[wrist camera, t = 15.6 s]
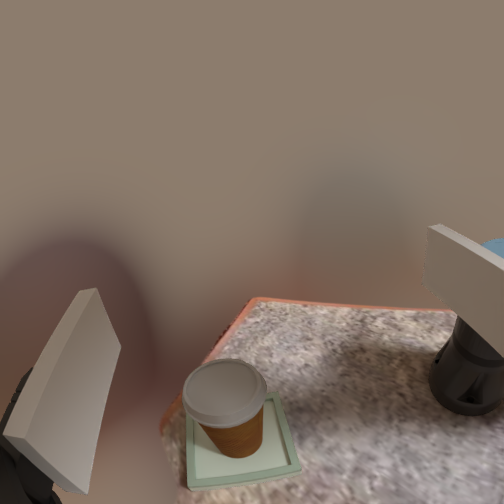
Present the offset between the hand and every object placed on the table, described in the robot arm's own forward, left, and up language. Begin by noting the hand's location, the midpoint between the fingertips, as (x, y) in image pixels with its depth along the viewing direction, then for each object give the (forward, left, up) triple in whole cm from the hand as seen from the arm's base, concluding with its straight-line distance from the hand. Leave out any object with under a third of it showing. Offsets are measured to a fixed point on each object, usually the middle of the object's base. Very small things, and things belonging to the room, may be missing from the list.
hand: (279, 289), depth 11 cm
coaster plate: (+5, -14, -32) cm, 35 cm away
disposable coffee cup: (+5, -14, -31) cm, 34 cm away
